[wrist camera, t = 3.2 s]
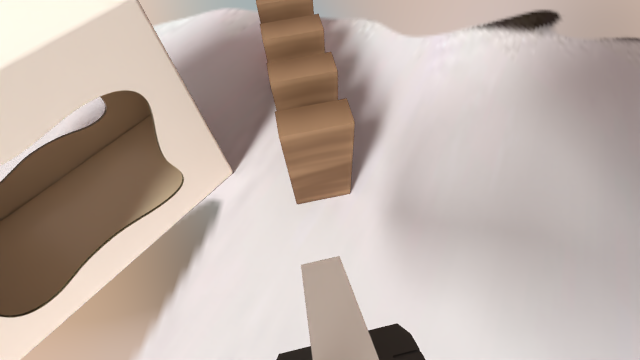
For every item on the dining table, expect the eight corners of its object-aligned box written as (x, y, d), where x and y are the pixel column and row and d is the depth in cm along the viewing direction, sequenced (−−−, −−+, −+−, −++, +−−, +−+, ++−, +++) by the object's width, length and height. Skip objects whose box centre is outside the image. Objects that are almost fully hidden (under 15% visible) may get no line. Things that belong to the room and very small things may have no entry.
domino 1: (318, 82, 37) (312, -5, 28) (276, 89, 36) (256, 4, 28) (315, 69, 38) (308, -18, 29) (273, 76, 38) (254, -9, 29)
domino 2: (327, 113, 34) (323, 29, 26) (282, 122, 34) (262, 40, 25) (323, 99, 35) (318, 14, 27) (279, 107, 35) (260, 24, 26)
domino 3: (337, 150, 32) (337, 71, 23) (288, 160, 31) (269, 83, 23) (333, 133, 33) (331, 51, 24) (285, 142, 33) (266, 63, 24)
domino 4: (350, 193, 29) (354, 122, 21) (296, 204, 29) (279, 136, 20) (344, 173, 30) (346, 98, 22) (293, 183, 30) (274, 111, 21)
